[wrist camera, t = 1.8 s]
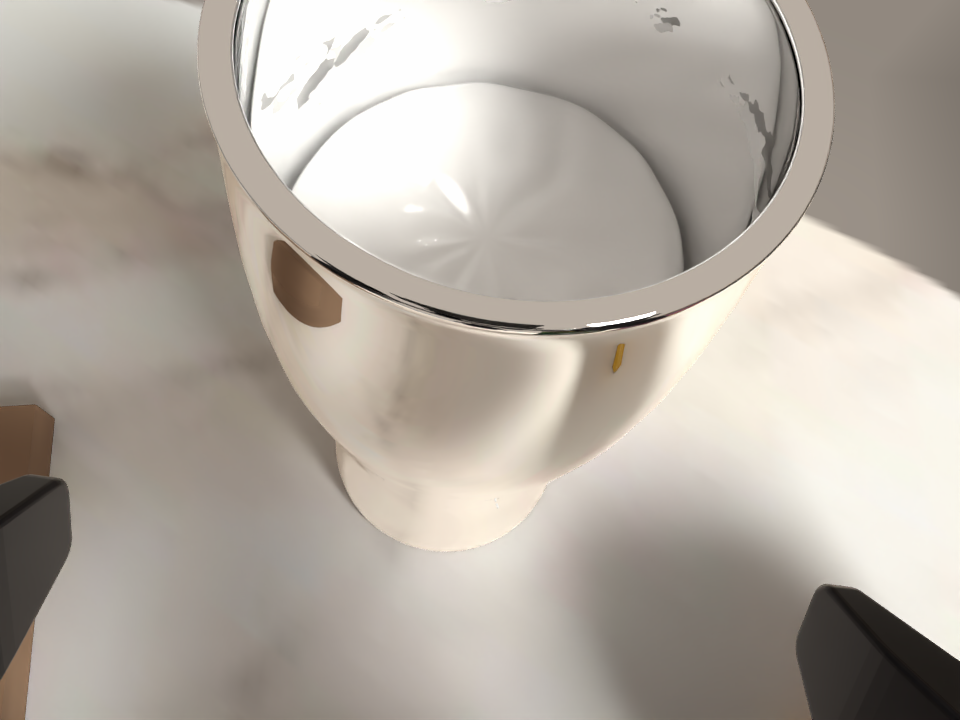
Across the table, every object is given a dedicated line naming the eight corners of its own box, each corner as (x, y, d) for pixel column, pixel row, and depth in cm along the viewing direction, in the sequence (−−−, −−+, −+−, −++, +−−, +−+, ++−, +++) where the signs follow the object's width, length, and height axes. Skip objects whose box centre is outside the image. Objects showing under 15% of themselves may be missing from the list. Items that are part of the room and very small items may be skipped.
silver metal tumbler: (275, 511, 21) (21, 178, 7) (382, 296, 23) (356, -261, 9) (519, 611, 20) (780, 476, 6) (598, 381, 23) (905, -66, 9)
